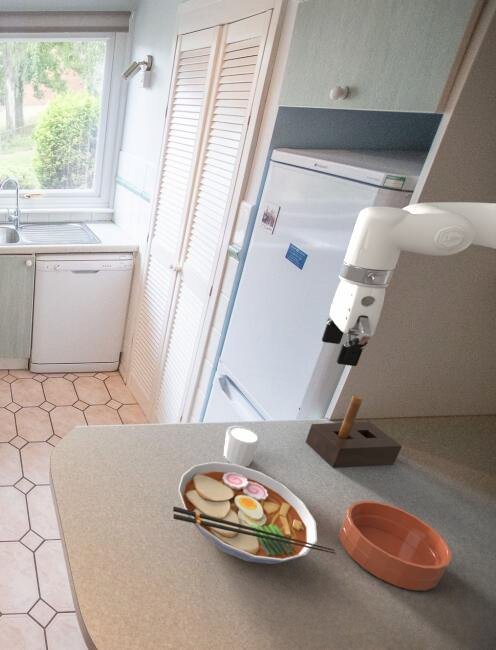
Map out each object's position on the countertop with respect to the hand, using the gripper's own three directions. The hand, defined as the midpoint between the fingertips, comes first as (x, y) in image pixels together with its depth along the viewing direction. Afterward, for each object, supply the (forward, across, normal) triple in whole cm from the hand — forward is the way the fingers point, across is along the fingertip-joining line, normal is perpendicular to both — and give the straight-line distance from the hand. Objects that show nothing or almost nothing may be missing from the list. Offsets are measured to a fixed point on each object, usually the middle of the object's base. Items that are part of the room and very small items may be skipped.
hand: (337, 352), depth 92 cm
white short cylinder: (+29, -3, +13) cm, 32 cm away
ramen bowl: (+29, -26, +16) cm, 42 cm away
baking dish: (+29, -22, -9) cm, 37 cm away
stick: (+29, +7, -9) cm, 31 cm away
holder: (+29, +8, -12) cm, 33 cm away
